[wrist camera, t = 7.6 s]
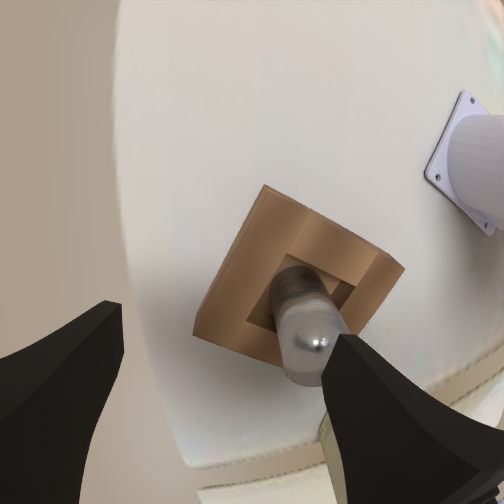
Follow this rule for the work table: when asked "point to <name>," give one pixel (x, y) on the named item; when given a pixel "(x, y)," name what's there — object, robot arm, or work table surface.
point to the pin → (305, 323)
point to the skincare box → (333, 460)
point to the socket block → (279, 258)
